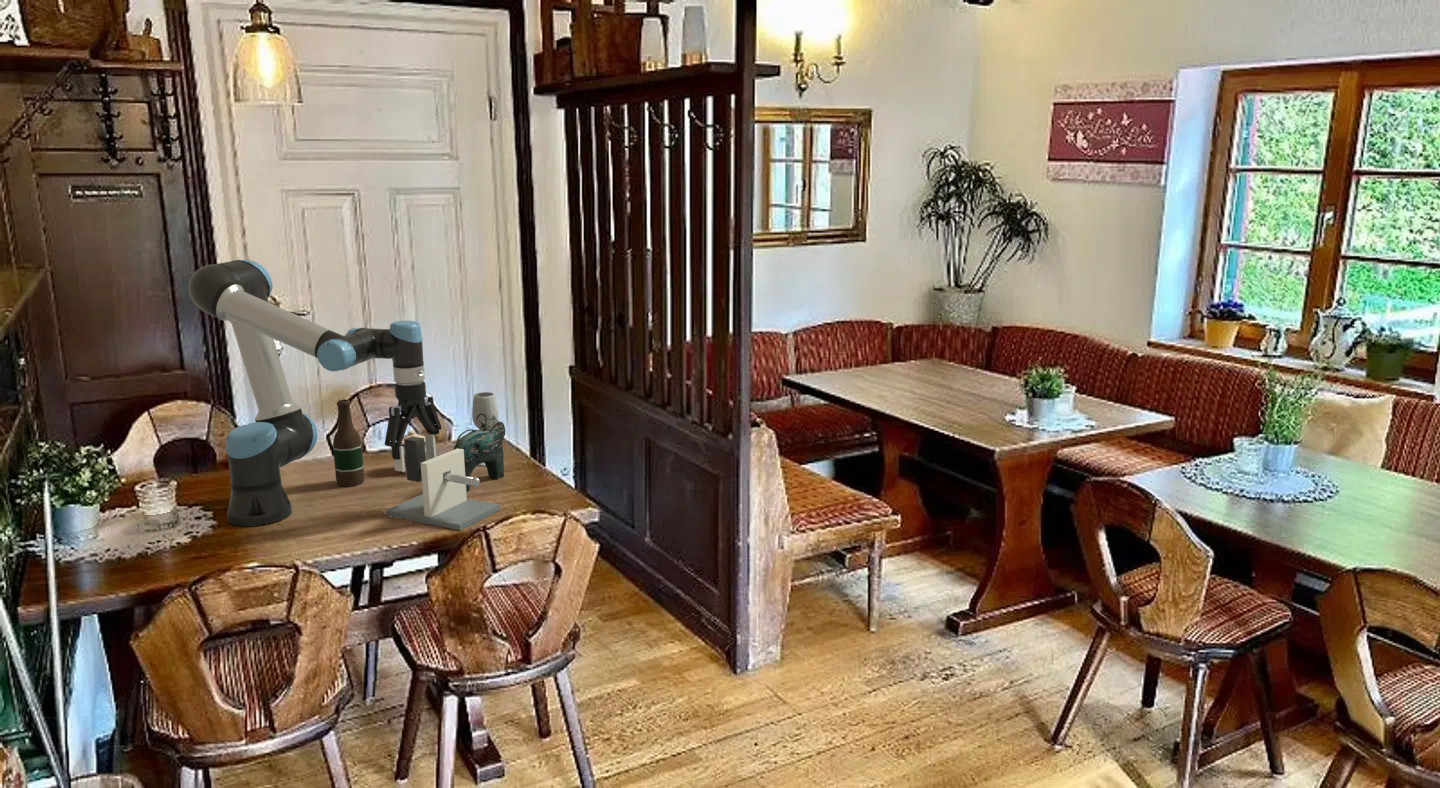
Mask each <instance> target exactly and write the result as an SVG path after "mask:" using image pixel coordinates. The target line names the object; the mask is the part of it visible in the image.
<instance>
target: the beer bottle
mask: <svg viewBox="0 0 1440 788" xmlns="http://www.w3.org/2000/svg"><path fill="white" fill-rule="evenodd" d="M336 407H337V422H338V423H337V424H338V425H337V431H336V433H335V435H334V436H333V441H332V449H333V450H332V451H333V461H334V469H335V470H334V471H335V473H334V474H335V480H336V485H337V486H339V487H342V488H347V487H348V488H349V486H351V487H357V486H360V485H363V484H362V483H364V481H365V469H364V458H363V457H364V455H363V446H362V438H361V435H360V434H359V431H358V430H357V429H356V428H355V426H354V424H353V418H352V417H353V416H352V413H351V401H350V400H349V399H340V400H337V402H336ZM359 484H360V485H359ZM356 485H357V486H356Z"/></svg>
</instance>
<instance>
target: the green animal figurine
mask: <svg viewBox="0 0 1440 788" xmlns="http://www.w3.org/2000/svg"><path fill="white" fill-rule="evenodd" d="M480 415H484V414H482V413H480V414H478V415H477V416H476V420H477V419H478V417H479V416H480ZM484 417H485V422H483V421H479V422H480V423H481V424H482V425H481V427H480V429H472V428H470V429H469V428H468V429H466V430H464V431H462V432H461V433H460V434H459V435H458V436H457V439H456V443H455V445H454V447H453V450H455V449H457V448H458V449H464V463H465V476H467V477H471V476H472V474H473V471H474V469H475V468H477V466H479V464H481V463H485V464H486V466H485V467H486V471H487V473H488V478H489V479H492V480H499V479H500V478H503V477H504V476H505V465H504V455H505V454H504V447H503V440H504V439H505V436H506V426H505V424H504V422H503V421H501V420H499V419H498V420H497V419H496V417H495V416H494V415H493V416H492V419H491V420H487V419H486V416H485V415H484ZM468 492H470V485H466V493H468Z"/></svg>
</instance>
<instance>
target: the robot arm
mask: <svg viewBox="0 0 1440 788" xmlns="http://www.w3.org/2000/svg"><path fill="white" fill-rule="evenodd" d="M273 289H274V285H273V281H272V277H271V274H270V273H269V272H268V271H267V269H266V268H265V267H264V266H263V265H261V264H260V263H258V262H256V261H254V260H250V259H237V260H235V259H234V260H231V261H225V262H220V263H212V264H207V265H204V266H201V267H199V268H198V269H197V270H196V271H195V272H193V274H192V275H191V276H190V279H189V281H188V294H189V297H190V299H191V301H192V303H193V304H194V305H195V306H196V307H197V308H198V309H200V311H202V312H204V313H206V314H208V315H210V316H212V317H214V318H216V319H219V320H221V321H223V322H224V321H228V322H230V323H231V327H232V329H233V333H234V336H235V339H236V342H237V346H238V349H239V351H240V355H241V359H242V362H243V365H244V368H245V371H246V374H247V378H248V380H249V384H250V387H251V391H252V393H253V397H254V401H255V403H256V406H257V410H258V411H257V414H256V416H255V418H254V421H255V422H250V423H248V424H243V425H239V426H237V427H235V428H233V429H232V430H230V431H229V432H228V433H227V436H226V437H225V445H226V446H225V452H226V455H227V463H228V471H229V472H228V473H229V480H230V486H231V488H230V489H231V493H230V499H229V502H228V508H227V510H226V517H227V518H226V519H227V522H228V523H229V522H230V523H232V524H231V525H233V524H235V525H234V526H237V525H240V526H239V527H257V526H256V525H258V526H263V525H262V524H265V525H269V524H268V523H270V524H273V523H272V522H274V523H276V522H275V521H277V522H280V521H282V519H283V520H284V518H285V519H287V518H288V517H290V516H291V515H292V513H293V511H292V503H291V501H290V498H289V497H288V494H287V492H286V489H285V488H284V487H283V483H282V478H281V476H282V475H281V468H282V467H285V466H286V465H288V464H290V463H292V462H294V461H298V460H301V459H302V458H304V457H305V456H307V454H309V453H310V452H312V450H313V449H314V448H315V446H316V445H317V441H318V430H317V426H316V424H315V421H314V420H313V419H312V418H311V417H309V416H308V415H307V414H305V413H303V410H302V407H301V405H298V404H297V403H294V401H293V399H292V396H291V392H290V389H289V386H288V385H289V384H288V382H287V379H286V375H285V372H284V369H283V366H282V362H281V359H280V356H279V352H278V349H277V346H276V343H275V342H276V341H278V342H281V343H283V344H285V345H287V346H290V347H292V348H294V349H297V350H298V351H300V352H303V353H305V354H307V355H310V356H312V357H313V358H316V359H317V360H318V363H319V364H320V365H321V367H323V368H324V369H325V370H326V371H328V372H329V371H330V372H338V371H345V370H348V369H349V368H351V367H353V366H356V365H359V364H362V363H365V362H367V361H369V360H373V359H384V360H385V359H387V360H390V359H391V360H392V369H393V370H392V371H393V372H392V373H393V382H394V383H395V384H394V395H395V399H397V401H398V403H397V405H396V406H390V407H388V415H389V417H388V422H387V428H386V432H385V433H386V434H385V440H384V446H386V447H391V455H392V457H391V458H392V460H393V462H394V463H393V464H394V465H393V466H394V471H396V472H400V471H401V472H400V473H402V472H404V471H405V462H404V450H403V446H401V443H402V440H403V437H404V436H405V435H406V431H407V428H408V425H409V424H410V423H411V422H412V420H413V419H415V418H417V419H418V421H419V422H420V423H421V425H422V426H423V428H424V429H425V432H427V433H425V434H424V436H425V443H426V457H427V458H430V459H432V458H435V457H437V447H436V446H437V435H439V434H440V431H441V430H442V424H441V422H440V419H439V416H438V414H437V410H436V408H435V405H434V397H432V396H427V387H426V386H427V385H426V382H425V380H426V379H425V378H426V377H425V376H426V375H425V364H424V363H425V362H424V348H423V341H424V339H423V334H422V327H421V324H420V323H419V322H418V321H416V320H398V321H393V322H391V323H390V325H389V328H368V327H357V328H350V329H349V330H347V332H346V333H345V335H343V334H340V333H338V332H335V331H333V330H331V329H329V328H326V327H324V326H322V325H320V324H317V323H315V322H313V321H311V320H308V319H306V318H304V317H302V316H299V315H298V314H295V313H294V312H293V313H292V312H291V311H288V310H286V309H284V308H282V307H280V306H277V305H275V304H273V303H270V301H269V298H270V297H271V293H272V292H273ZM275 340H276V341H275ZM396 441H397V442H396ZM290 514H291V515H290ZM289 515H290V516H289ZM286 517H287V518H286ZM279 520H280V521H279ZM230 523H229V524H230Z"/></svg>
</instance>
